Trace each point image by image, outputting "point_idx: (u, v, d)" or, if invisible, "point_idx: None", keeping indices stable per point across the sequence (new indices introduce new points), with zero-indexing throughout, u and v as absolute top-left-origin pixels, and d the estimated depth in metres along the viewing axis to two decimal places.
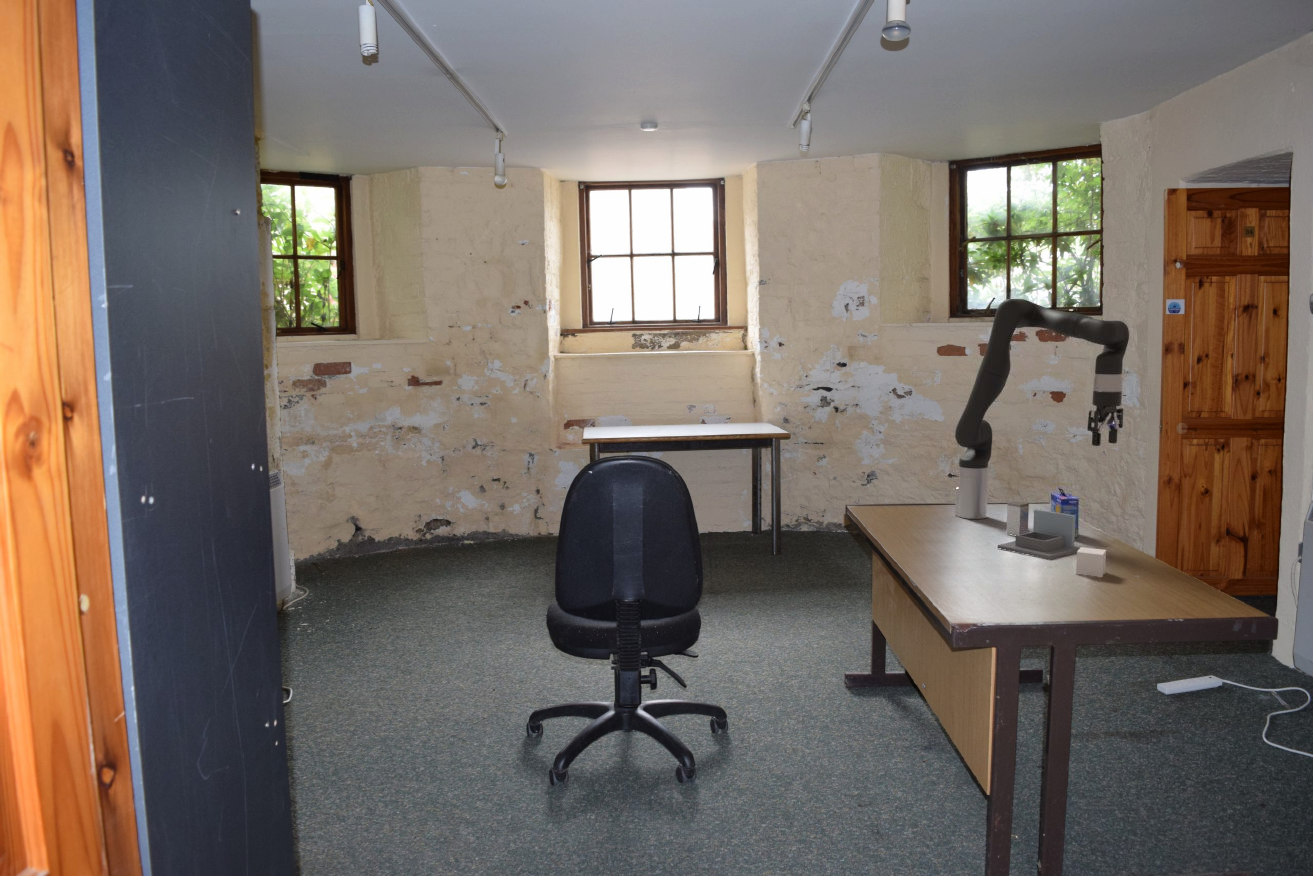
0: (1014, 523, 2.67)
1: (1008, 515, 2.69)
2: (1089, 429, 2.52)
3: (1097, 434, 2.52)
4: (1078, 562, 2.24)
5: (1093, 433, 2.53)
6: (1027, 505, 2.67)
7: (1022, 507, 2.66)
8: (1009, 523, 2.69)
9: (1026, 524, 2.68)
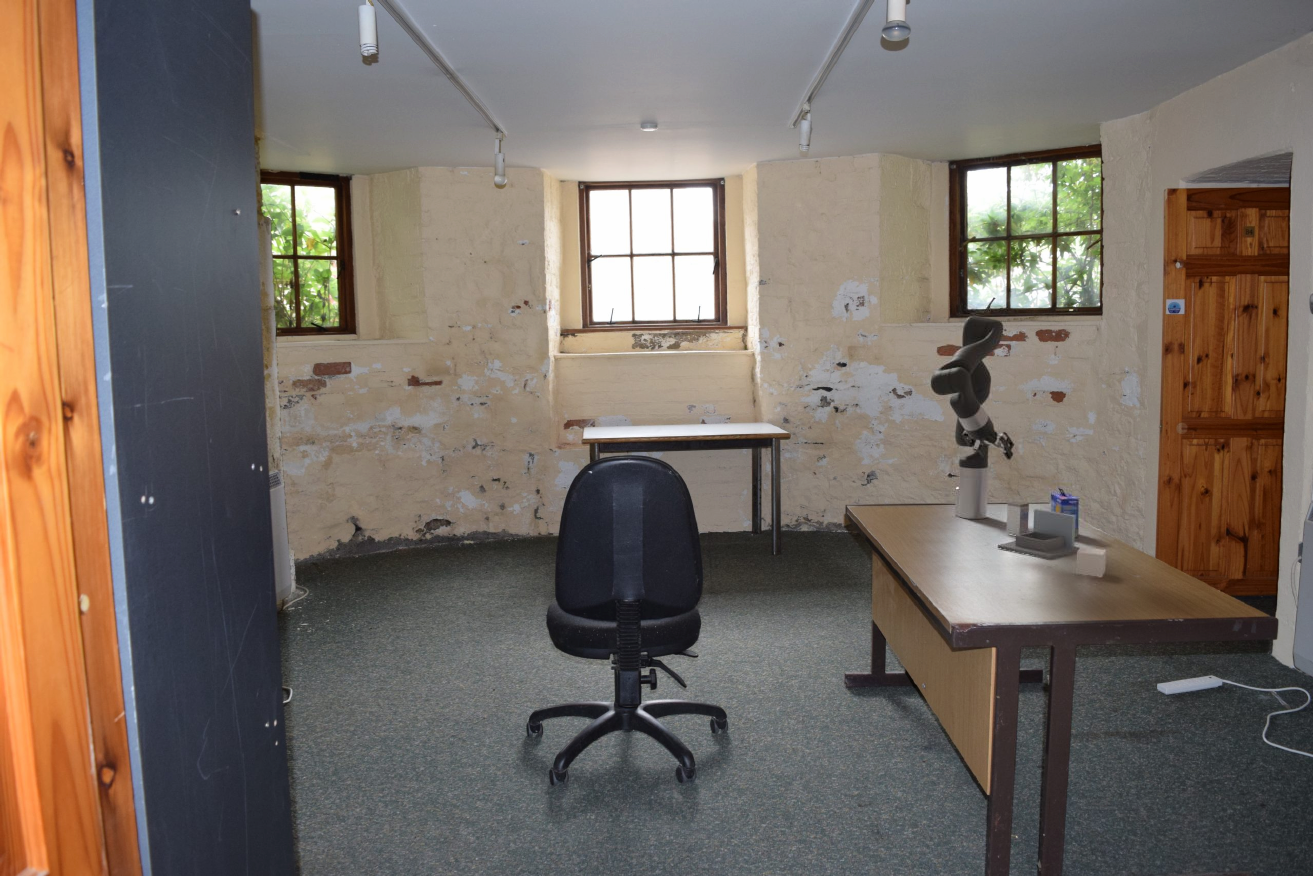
0: (1014, 523, 2.67)
1: (1008, 515, 2.69)
2: None
3: (977, 448, 2.62)
4: (1078, 562, 2.24)
5: None
6: (1027, 505, 2.67)
7: (1022, 507, 2.66)
8: (1009, 523, 2.69)
9: (1026, 524, 2.68)
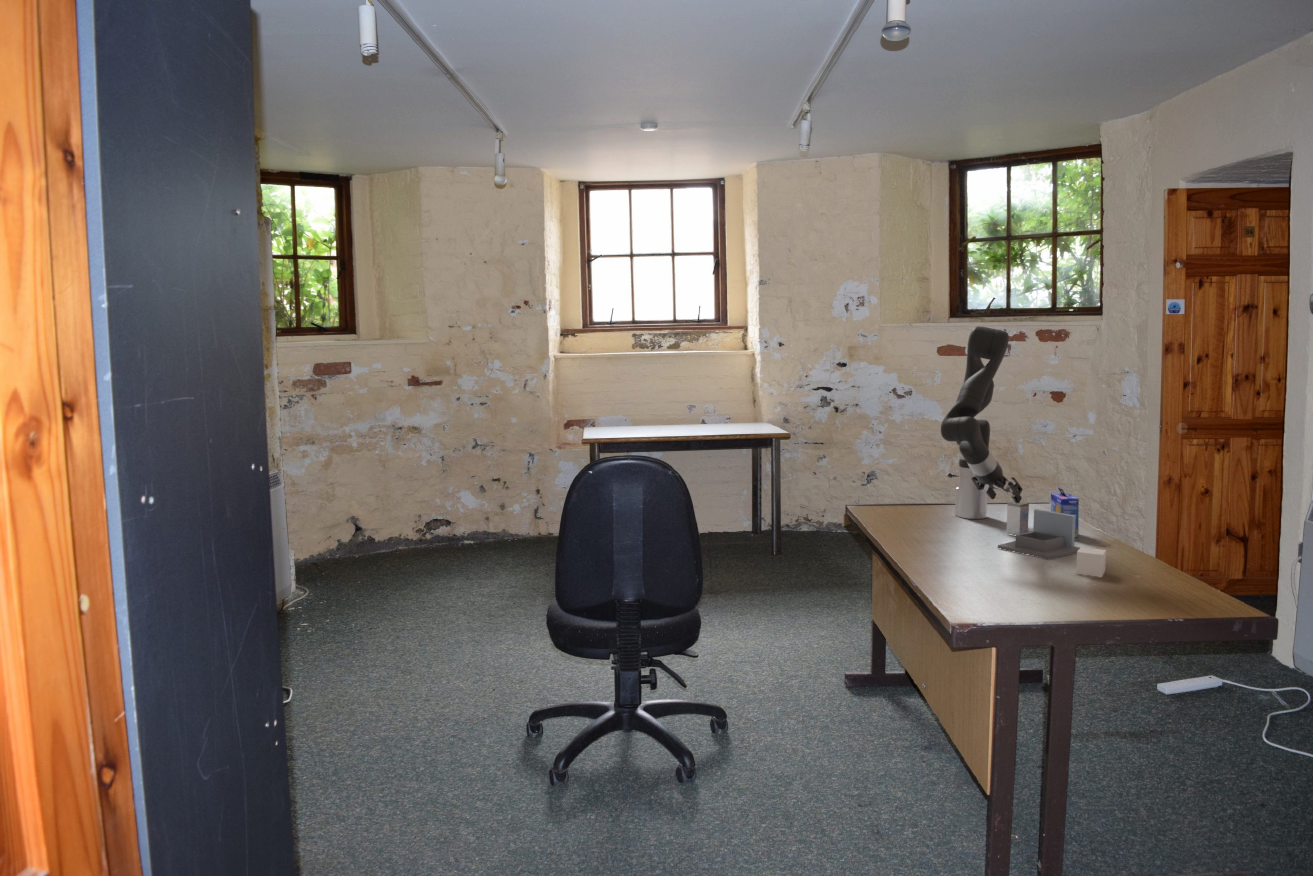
0: (1014, 523, 2.67)
1: (1008, 515, 2.69)
2: None
3: (986, 491, 2.67)
4: (1078, 562, 2.24)
5: None
6: (1027, 505, 2.67)
7: (1022, 507, 2.66)
8: (1009, 523, 2.69)
9: (1026, 524, 2.68)
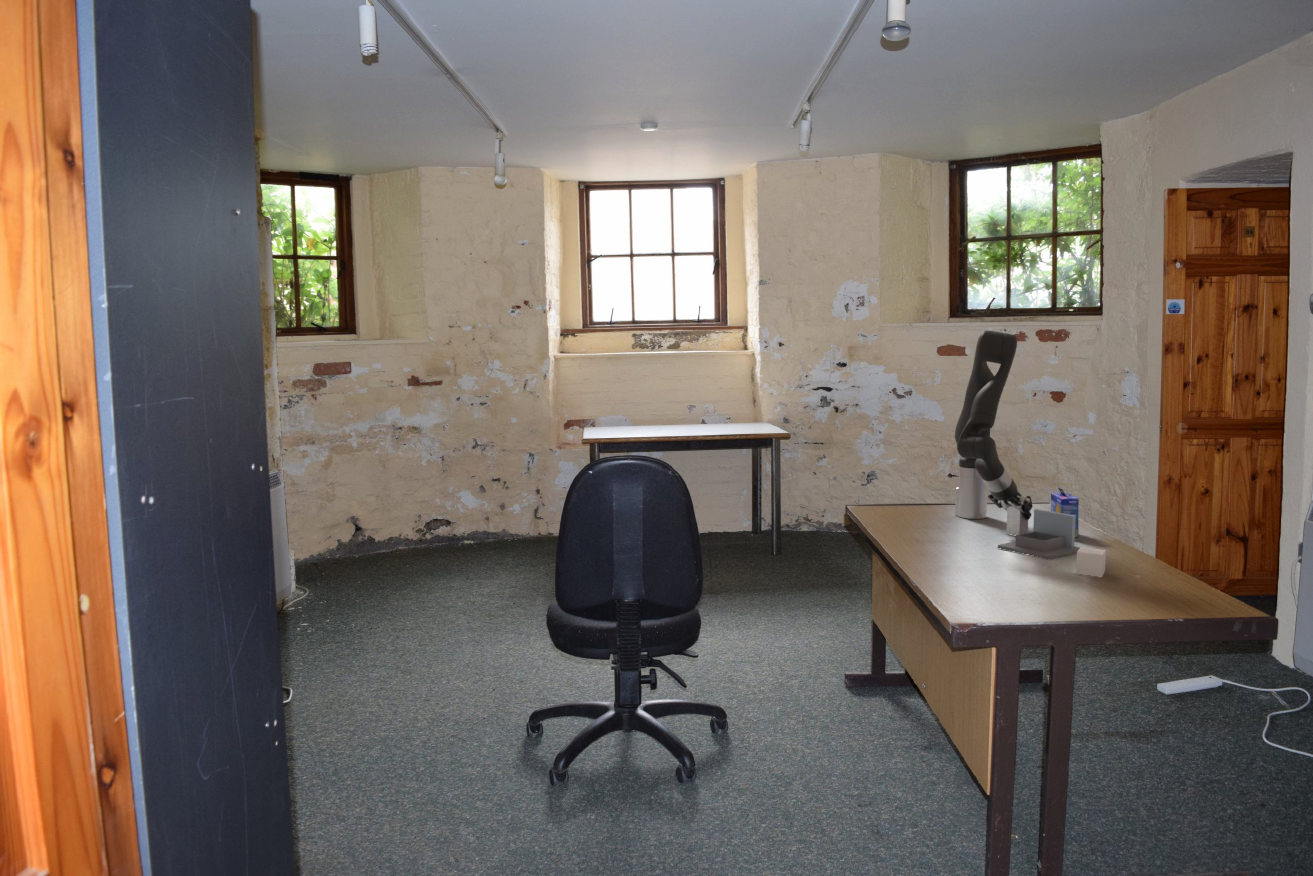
0: (1014, 523, 2.67)
1: (1008, 515, 2.69)
2: None
3: (1006, 509, 2.70)
4: (1078, 562, 2.24)
5: None
6: None
7: (1022, 507, 2.66)
8: (1009, 523, 2.69)
9: (1026, 524, 2.68)
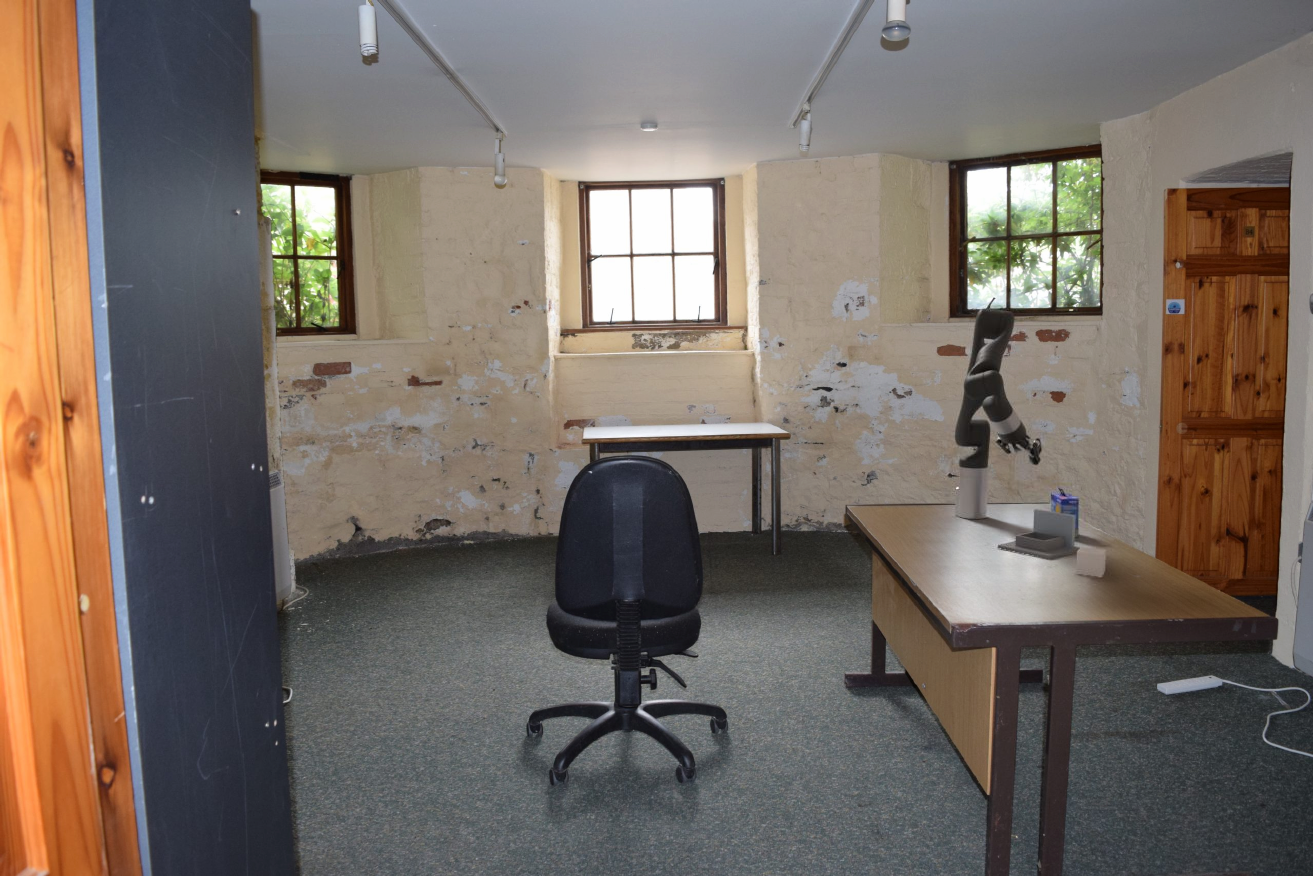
0: (1022, 468, 2.59)
1: (1016, 460, 2.60)
2: None
3: None
4: (1078, 562, 2.24)
5: None
6: None
7: (1031, 451, 2.57)
8: (1017, 469, 2.60)
9: (1035, 469, 2.59)
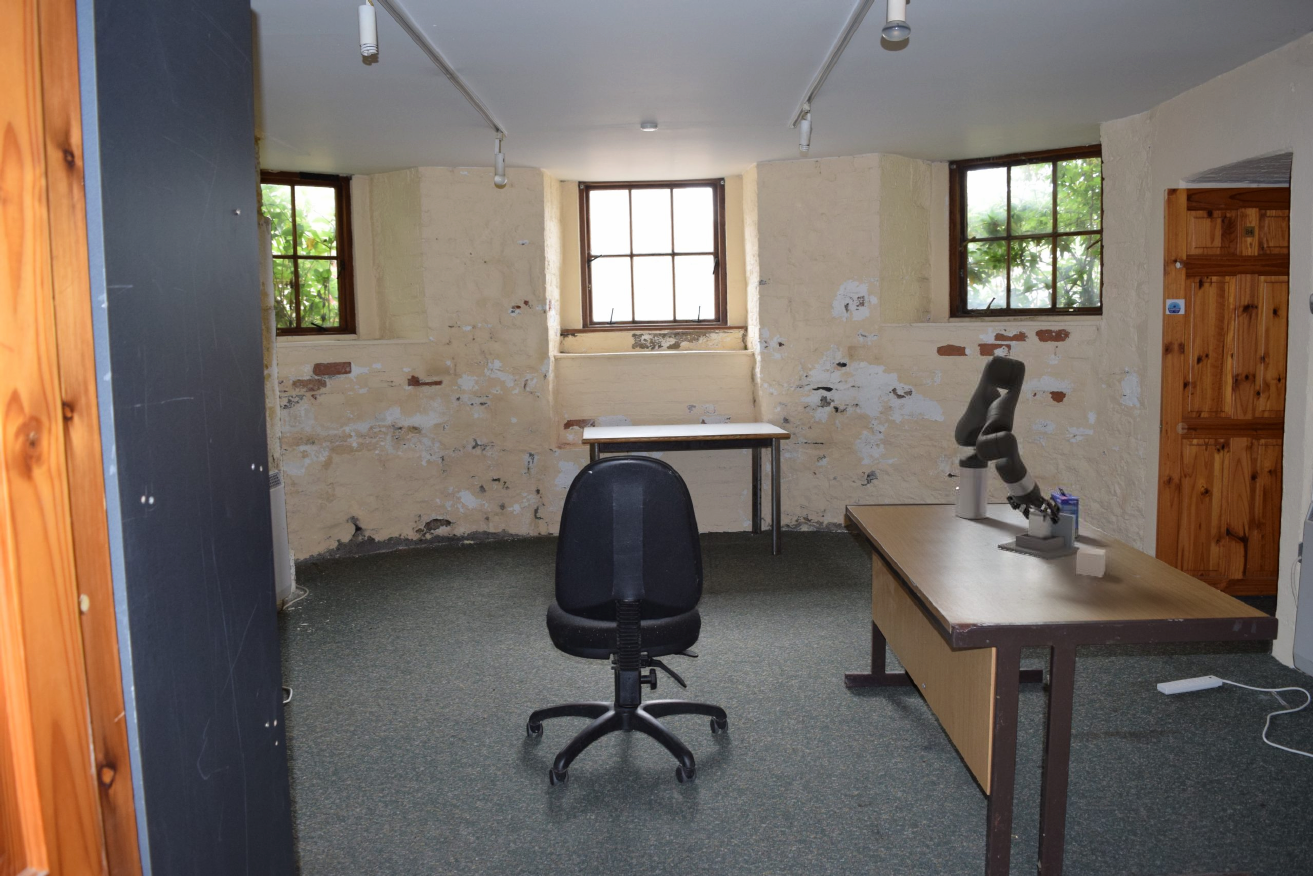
0: (1036, 534, 2.48)
1: (1030, 525, 2.49)
2: None
3: (1022, 511, 2.52)
4: (1078, 562, 2.24)
5: None
6: None
7: (1045, 517, 2.46)
8: (1031, 534, 2.49)
9: (1049, 535, 2.48)
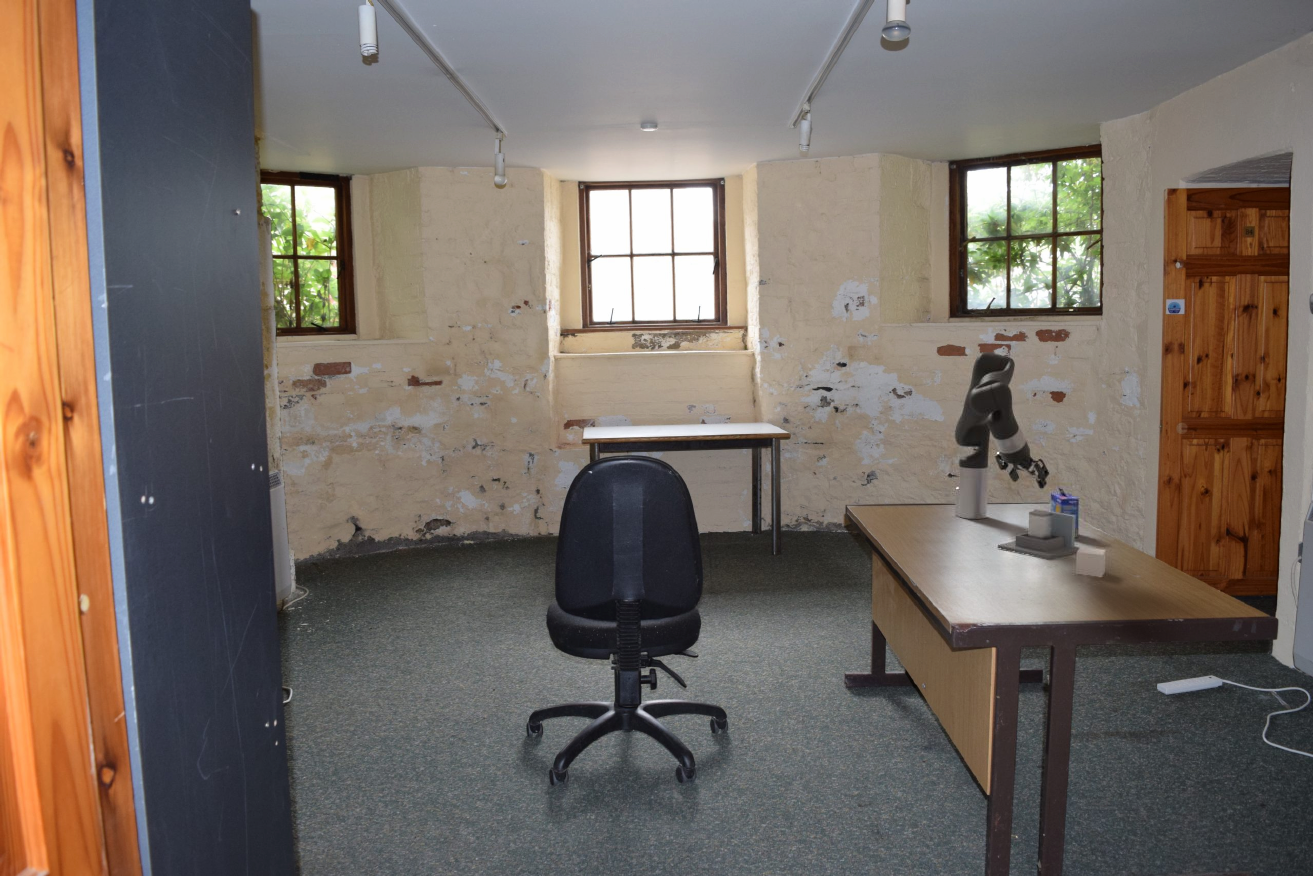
0: (1036, 534, 2.48)
1: (1030, 525, 2.49)
2: None
3: (1009, 472, 2.47)
4: (1078, 562, 2.24)
5: None
6: (1051, 514, 2.48)
7: (1045, 517, 2.46)
8: (1031, 534, 2.49)
9: (1049, 535, 2.48)
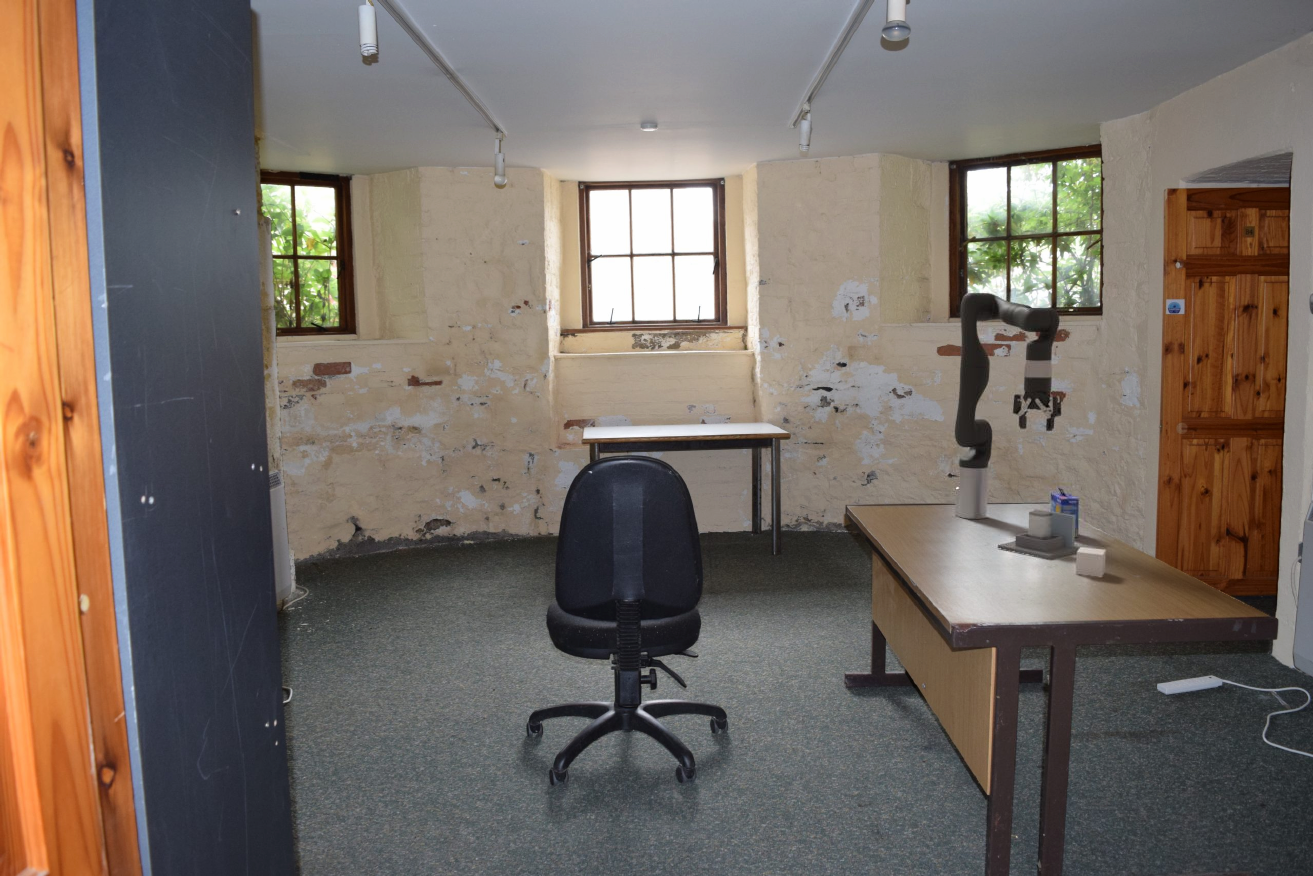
0: (1036, 534, 2.48)
1: (1030, 525, 2.49)
2: None
3: (1020, 417, 2.64)
4: (1078, 562, 2.24)
5: None
6: (1051, 514, 2.48)
7: (1045, 517, 2.46)
8: (1031, 534, 2.49)
9: (1049, 535, 2.48)
